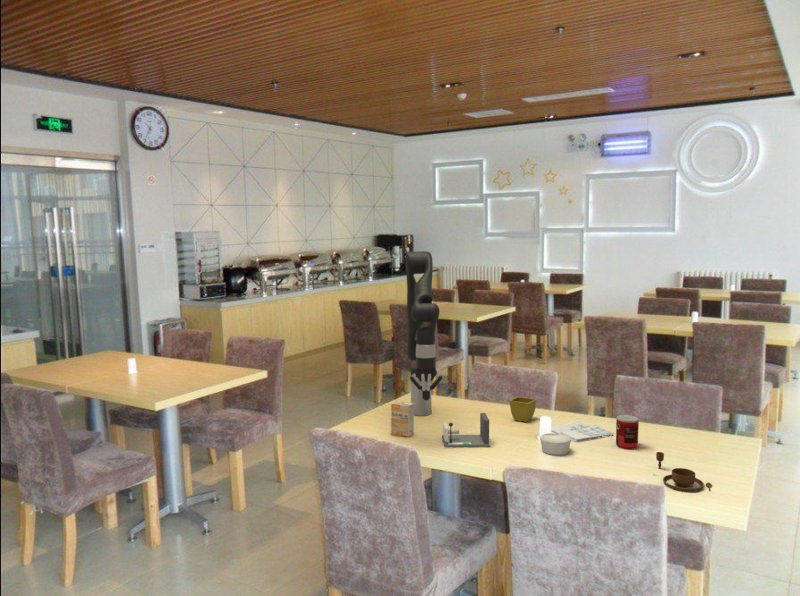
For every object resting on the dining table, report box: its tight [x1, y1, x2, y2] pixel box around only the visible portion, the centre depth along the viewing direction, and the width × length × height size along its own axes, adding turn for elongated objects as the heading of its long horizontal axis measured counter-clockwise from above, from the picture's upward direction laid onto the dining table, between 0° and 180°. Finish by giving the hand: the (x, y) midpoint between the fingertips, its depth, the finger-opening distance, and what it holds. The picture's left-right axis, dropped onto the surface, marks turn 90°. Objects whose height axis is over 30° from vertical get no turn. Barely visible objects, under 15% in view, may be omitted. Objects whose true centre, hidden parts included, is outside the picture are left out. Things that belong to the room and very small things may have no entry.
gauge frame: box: [441, 412, 491, 448], centre depth 249 cm, size 12×17×10 cm
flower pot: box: [509, 396, 537, 423], centre depth 277 cm, size 9×9×9 cm
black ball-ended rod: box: [448, 421, 454, 443], centre depth 244 cm, size 2×2×8 cm
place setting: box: [652, 451, 713, 493], centre depth 210 cm, size 18×20×6 cm
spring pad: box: [442, 421, 460, 443], centre depth 249 cm, size 10×6×5 cm, turn 1°
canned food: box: [615, 414, 640, 450], centre depth 243 cm, size 8×8×11 cm
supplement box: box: [390, 400, 415, 438], centre depth 259 cm, size 8×5×13 cm, turn 62°
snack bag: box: [551, 421, 614, 443], centre depth 261 cm, size 19×20×2 cm
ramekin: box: [539, 432, 572, 456], centre depth 239 cm, size 11×11×5 cm
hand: (426, 399), depth 248 cm, fingers closed
